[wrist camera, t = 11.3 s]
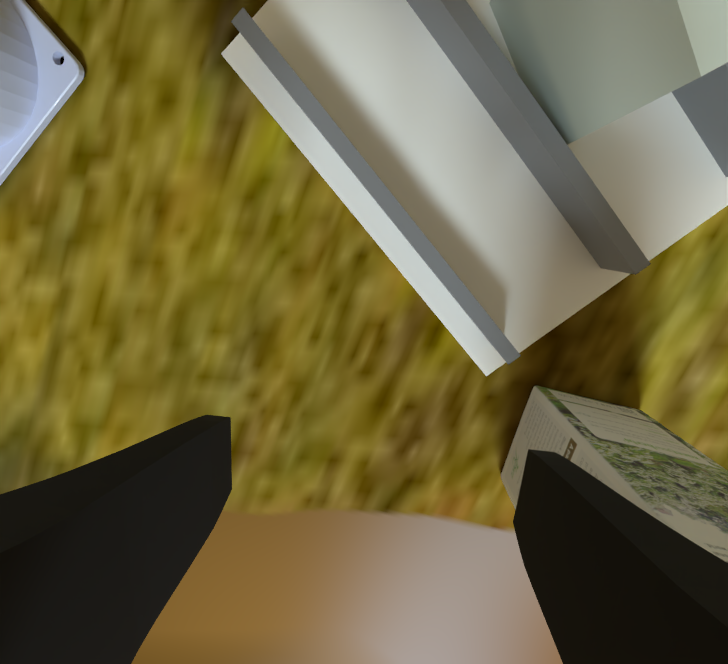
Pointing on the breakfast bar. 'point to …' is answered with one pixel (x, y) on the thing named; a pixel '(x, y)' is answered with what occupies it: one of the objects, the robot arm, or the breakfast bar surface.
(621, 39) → the white rectangular block
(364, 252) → the breakfast bar surface
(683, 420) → the breakfast bar surface
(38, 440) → the breakfast bar surface
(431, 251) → the dish rack
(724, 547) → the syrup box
